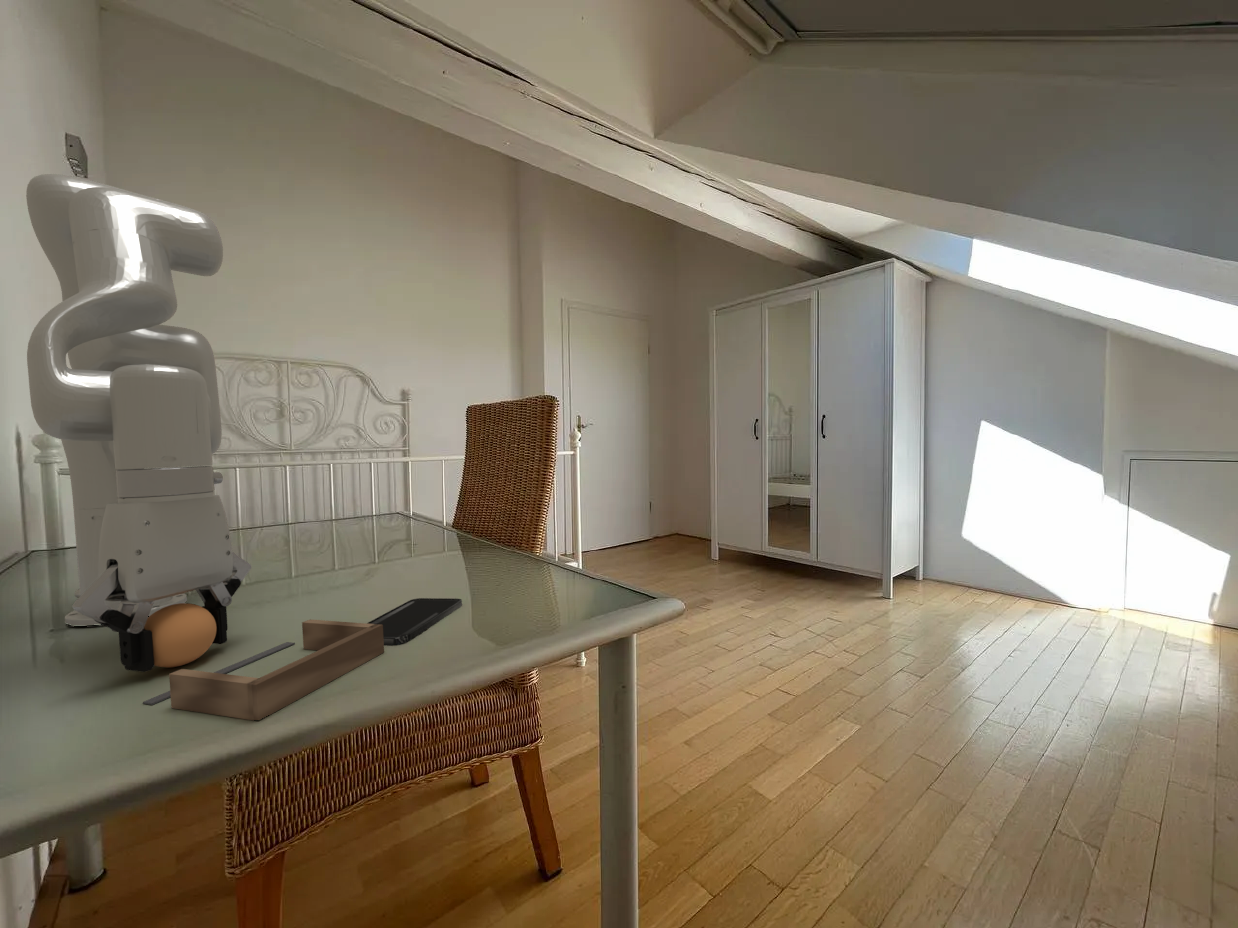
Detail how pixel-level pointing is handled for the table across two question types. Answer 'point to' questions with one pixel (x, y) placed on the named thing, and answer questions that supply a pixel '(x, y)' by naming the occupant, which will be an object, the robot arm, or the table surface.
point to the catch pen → (280, 673)
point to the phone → (414, 618)
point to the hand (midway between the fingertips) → (178, 653)
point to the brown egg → (180, 633)
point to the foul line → (227, 669)
